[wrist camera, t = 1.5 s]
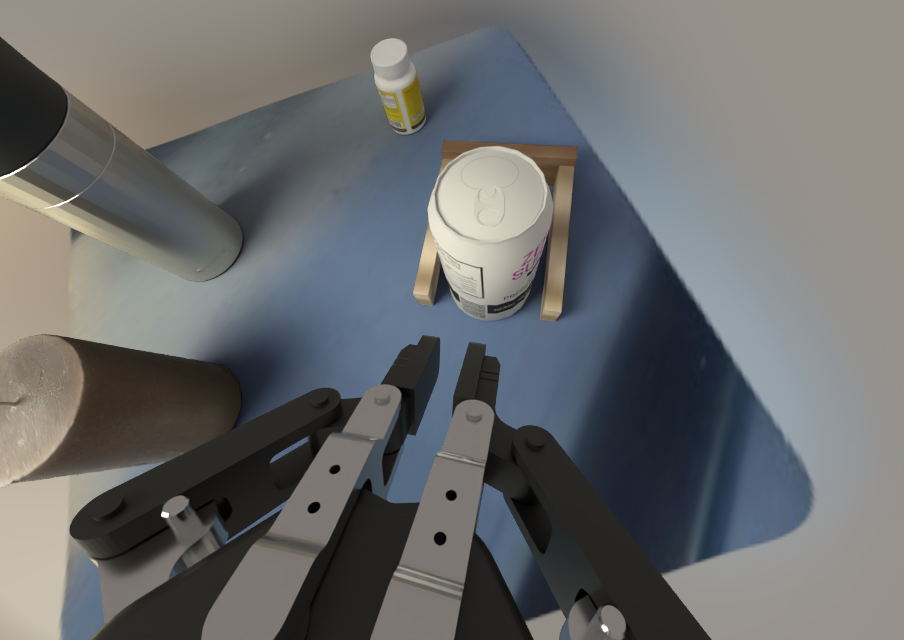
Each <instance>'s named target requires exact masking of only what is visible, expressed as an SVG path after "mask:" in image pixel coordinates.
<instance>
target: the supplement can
mask: <svg viewBox="0 0 904 640" xmlns="http://www.w3.org/2000/svg"><path fill="white" fill-rule="evenodd" d="M553 207H554V204H553V200H552V196H551V193H550V189H549V186H548V185H547V183H546V181H545V177H544V174H543V172H542V171H541V170H540V168H539V167H538V166H537V165H536V163H535V162H534V161H533V160H532V159H531V158H529V157H527V156H526V155H524V154H523V153H521V152H519V151H518V150H514V149H510V148H505V147H501V146H491V147H479V148H476V149H473V150H470V151H467V152H465V153H462V154H461V155H459V156H458V157H457V158H455V159H454V160H452V161H451V162H450V163H448V164H447V165H446V167H445V168H444V170H443V171H442V172H441V174H440V175H439V176H438V178H437V181H436V185H435V188H434V189H433V191H432V195H431V199H430V202H429V206H428V217H429V225H430V229H431V233H432V236H433V239H434V242H435V245H436V248H437V251H438V254H439V257H440V260H441V264H442V267H443V270H444V273H445V276H446V279H447V282H448V285H449V288H450V291H451V294H452V297H453V299H454V300H455V302H456V304H457V306H458V307H459V308H460V309H461V310H462V311H464V312H465V313H466V314H467V315H468V316H471V317H473V318H476V319H479V320H482V321H497V320H500V319H504V318H507V317H510V316H511V315H513V314H514V313H515V312H516V311H518V310H519V309H520V308H521V307H522V306H523V304H524V302H525V301H526V299H527V298H528V296H529V293H530V290H531V286H532V283H533V280H534V277H535V273H536V270H537V267H538V264H539V261H540V257H541V254H542V251H543V248H544V245H545V241H546V238H547V235H548V232H549V228H550V225H551V220H552V214H553Z"/></svg>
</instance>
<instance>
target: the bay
mask: <svg viewBox="0 0 904 640" xmlns="http://www.w3.org/2000/svg"><path fill="white" fill-rule="evenodd" d="M491 146H501V147H505V148H510V149H514V150H518V151H519V152H521V153H523V154H524V155H526V156H527V157H529V158H531V159H532V160H533V161H534V162H535V163H536V165H537V166H538V167H539V168H540V170H541V171H542V172H543V174H544V177H545V181H546V183H547V185H554V191H553V204H554V207H553V214H552V220H551V225H550V228H549V238H548V247H547V257H546V266H545V275H544V285H543V294H542V304H541V313H540V320H547V321H556V320H557V318H558V317H559V315H560V314H561V312H562V300H563V289H564V278H565V266H566V255H567V244H568V233H569V221H570V210H571V199H572V188H573V176H574V166H575V163H576V160H577V151H578V147H569V146H549V145H528V144H507V143H487V142H466V141H446V140H444V141H443V146H442V150H441V153H442V163H441V168H440V173H439V175H440V174H441V172H442V171H443V170H444V168H445V167H446V165H447V164H448V163H450V162H451V161H452V160H454V159H455V158H457V157H458V156H459V155H461V154H462V153H465V152H467V151H470V150H473V149H476V148H479V147H491ZM440 269H441V260H440V257H439V254H438V251H437V248H436V245H435V242H434V239H433V236H432V233H431V229H430V225H429V223H428V228H427V232H426V237H425V241H424V246H423V251H422V255H421V260H420V264H419V269H418V274H417V278H416V283H415V287H414V292H413V294H414V296H415V297H416V299H417V301H418V302H419V304H425V305H432V306H433V304H434V299H435V294H436V289H437V284H438V279H439V274H440Z"/></svg>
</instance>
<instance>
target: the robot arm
mask: <svg viewBox="0 0 904 640" xmlns="http://www.w3.org/2000/svg"><path fill="white" fill-rule="evenodd" d="M0 196H2V197H4V198H6V199H9V200H10V201H13V202H15V203H17V204H19V205H22V206H25V207H26V208H29V209H31V210H33V211H35V212H38V213H40V214H42V215H44V216H46V217H49V218H51V219H53V220H55V221H58V222H60V223H62V224H64V225H66V226H69V227H71V228H73V229H75V230H78V231H80V232H82V233H84V234H86V235H89V236H91V237H93V238H95V239H98V240H100V241H102V242H104V243H106V244H109V245H111V246H113V247H115V248H118V249H120V250H122V251H124V252H126V253H129V254H131V255H133V256H135V257H138V258H140V259H142V260H144V261H146V262H149V263H151V264H153V265H155V266H157V267H159V268H162V269H164V270H166V271H168V272H171V273H173V274H175V275H177V276H180V277H182V278H184V279H187V280H189V281H205V280H209V279H212V278H214V277H216V276H218V275H220V274H221V273H222V272H224V271H225V270H226V269H227V268H228V267H229V266H230V265H231V264H232V263H233V262H234V260H235V259H236V258H237V256H238V254H239V252H240V249H241V246H242V238H243V235H242V230H241V228H240V226H239V224H238V223H237V221H236V220H235V219H233V218H232V217H231V216H230V215H228V214H227V213H226V212H224V211H223V210H222V209H220V208H219V207H218V206H217V205H215V204H214V203H213V202H211V201H210V200H209V199H208V198H206V197H205V196H204V195H202V194H201V193H200V192H199V191H197V190H196V189H195V188H193V187H192V186H191V185H189V184H188V183H187V182H186V181H184V180H183V179H182V178H180V177H179V176H178V175H176V174H175V173H174V172H173V171H171V170H170V169H169V168H167V167H166V166H165V165H163V164H162V163H161V162H160V161H158V160H157V159H156V158H154V157H153V156H152V155H150V154H149V153H148V152H147V151H145V150H144V149H143V148H141V147H140V146H139V145H137V144H136V143H135V142H134V141H132V140H131V139H130V138H128V137H127V136H126V135H124V134H123V133H122V132H121V131H119V130H118V129H117V128H115V127H114V126H113V125H111V124H110V123H109V122H108V121H106V120H105V119H103V118H102V117H101V116H99V115H98V114H97V113H96V112H94V111H93V110H92V109H90V108H89V107H88V106H86V105H85V104H84V103H83V102H81V101H80V100H79V99H77V98H76V97H75V96H73V95H72V94H71V93H69V92H68V91H67V90H66V89H64V88H63V87H62V86H60V85H59V84H58V83H57V82H55V81H54V80H53V79H52V78H50V77H49V76H47V75H46V74H45V73H44V72H42V71H41V70H40V69H38V68H37V67H36V66H35V65H34V64H32V63H31V62H30V61H28V60H27V59H26V58H25V57H23V55H21V54H20V53H19V52H18V51H17V50H15V49H14V48H13V47H12V46H11V45H9V44H8V43H7V42H6V41H5V40H3V39H2V38H1V37H0ZM485 351H486V344H481V343H474V342H469V345H468V348H467V352H466V355H465V359H464V362H463V365H462V369H461V372H460V376H459V379H458V382H457V386H456V389H455V393H454V396H453V413H452V420H451V423H450V426H449V429H448V432H447V436H446V439H445V442H444V445H443V448H442V451H441V452H438V453H437V455H436V457H435V460H434V463H433V466H432V469H431V472H430V475H429V478H428V481H427V484H426V486H425V489H424V492H423V495H422V498H421V501H420V503H390V502H388V501H386V500H387V495H388V492H389V489H390V486H391V483H392V481H393V478H394V475H395V472H396V469H397V467H398V464H399V461H400V458H401V456H402V453H403V449H404V441H405V439H406V436H407V434H410V435H416V433H417V430H418V427H419V425H420V422H421V420H422V417H423V414H424V412H425V409H426V407H427V404H428V401H429V399H430V396H431V394H432V391H433V388H434V386H435V383H436V381H437V377H438V373H439V363H440V338H439V337H433V336H426V335H423V336H422V337H421V339H420V341H419V343H418V345H411V344H410V345H408V346H407V347H405V348H404V349H402V350H401V352H400V353H399V355H398V357H397V359H396V360H395V361H394V363H393V365H392V366H391V368H390V370H389V371H388V373H387V375H386V376H385V378H384V380H383V381H382V383H381V384H380V385H377V386H374V387H372V388H370V389H369V390H367V391H366V392H365V394H364V395H363V397H361V398H352V399H341V397H340V394H339V392H338V391H336V390H335V389H332V388H319V389H316V390H313V391H311V392H309V393H307V394H304V395H302V396H300V397H298V398H296V399H294V400H292V401H290V402H288V403H286V404H284V405H282V406H280V407H278V408H276V409H274V410H272V411H270V412H268V413H266V414H264V415H262V416H260V417H257V418H255V419H253V420H251V421H249V422H247V423H245V424H243V425H241V426H239V427H237V428H235V429H233V430H231V431H229V432H227V433H225V434H223V435H221V436H219V437H217V438H215V439H213V440H210V441H208V442H206V443H204V444H202V445H200V446H198V447H196V448H194V449H192V450H190V451H188V452H186V453H184V454H182V455H180V456H178V457H176V458H174V459H172V460H170V461H168V462H166V463H164V464H161V465H159V466H157V467H155V468H153V469H151V470H149V471H147V472H145V473H143V474H141V475H139V476H137V477H135V478H133V479H131V480H129V481H127V482H125V483H123V484H121V485H119V486H117V487H114V488H112V489H110V490H108V491H106V492H104V493H103V494H101V495H99V496H98V497H96V498H94V499H93V500H92V501H90V502H89V503H88V504H87V505H85V506H84V507H83V508H82V509H81V510H80V511H79V512H78V514H77V515H76V516H75V517H74V519H73V521H72V523H71V525H70V534H71V536H72V537H73V538H74V539H75V540H76V541H77V542H78V543H79V544H80V545H81V546H82V547H83V549H84V550H85V551H86V554H87V556H88V557H89V558H90V559H91V560H92V561H93V562H94V563H95V564H96V565H97V566H98V570H99V579H100V587H101V596H102V605H103V613H104V622H105V625H104V626H103V627H102V628H101V629H100V630H99V631H98V632H97V633H96V634H95V635H94V636H93V637H92V638H91V639H90V640H534V639H533V637H532V635H531V633H530V631H529V629H528V627H527V625H526V623H525V621H524V619H523V617H522V615H521V613H520V611H519V609H518V607H517V605H516V603H515V601H514V599H513V597H512V595H511V593H510V591H509V589H508V587H507V585H506V583H505V580H504V578H503V576H502V574H501V572H500V570H499V568H498V566H497V564H496V562H495V560H494V558H493V556H492V554H491V553H490V551H489V549H488V548H487V546H486V545H485V543H484V542H483V541H482V540H481V538H480V537H479V536H478V535H477V534H476V530H477V523H478V517H479V511H480V505H481V499H482V494H483V488H484V482H485V483H486V484H488V485H490V486H492V487H493V488H495V489H497V490H499V491H501V492H502V493H503V496H504V499H505V501H506V503H507V505H508V507H509V509H510V511H511V513H512V515H513V517H514V519H515V521H516V523H517V525H518V527H519V529H520V531H521V532H522V534H523V536H524V538H525V540H526V542H527V544H528V546H529V548H530V550H531V552H532V554H533V556H534V558H535V560H536V562H537V563H538V565H539V567H540V569H541V571H542V573H543V575H544V577H545V579H546V581H547V583H548V585H549V587H550V589H551V591H552V593H553V595H554V596H555V598H556V600H557V602H558V604H559V606H560V608H561V610H562V612H563V614H564V616H565V618H566V621H565V623H564V625H563V627H562V629H561V632H560V637H559V640H711V638H710V637H709V636H708V635H707V633H706V632H705V631H704V629H703V628H702V627H701V626H700V624H699V623H698V622H697V621H696V619H695V618H694V617H693V615H692V614H691V613H690V611H689V610H688V609H687V608H686V606H685V605H684V604H683V603H682V601H681V600H680V599H679V597H678V596H677V595H676V594H675V592H674V591H673V590H672V588H671V587H670V586H669V585H668V583H667V582H666V581H665V580H664V578H663V577H662V576H661V574H660V573H659V572H658V570H657V569H656V568H655V567H654V565H653V564H652V563H651V561H650V560H649V559H648V558H647V556H646V555H645V554H644V553H643V551H642V550H641V549H640V547H639V546H638V545H637V544H636V542H635V541H634V540H633V538H632V537H631V536H630V535H629V533H628V532H627V531H626V529H625V528H624V527H623V526H622V524H621V523H620V522H619V520H618V519H617V518H616V517H615V515H614V514H613V513H612V512H611V510H610V509H609V508H608V506H607V505H606V504H605V503H604V501H603V500H602V499H601V497H600V496H599V495H598V494H597V492H596V491H595V490H594V488H593V487H592V486H591V485H590V483H589V482H588V481H587V479H586V478H585V477H584V476H583V474H582V473H581V472H580V470H579V469H578V468H577V467H576V465H575V464H574V463H573V462H572V460H571V459H570V458H569V456H568V455H567V454H566V453H565V451H564V450H563V449H562V447H561V446H560V445H559V444H558V442H557V441H556V440H555V438H554V437H553V436H552V435H551V434H550V433H549V432H548V431H546V430H545V429H543V428H540V427H538V426H532V425H527V426H523V427H520V428H518V429H517V430H516V429H514V428H512V427H510V426H508V425H506V424H505V423H503V422H502V421H501V420H500V419H499V418H498V416H497V414H496V411H495V404H496V396H497V388H498V380H499V372H500V364H499V362H498V360H497V358H496V357H490V356H485ZM305 437H307V438H308V442H306V443H305V444H303V445H301V446H299V447H298V448H296V449H294V450H293V451H291V452H289V453H288V454H286V455H284V456H282V457H281V458H279V459H277V460H276V461H274V462H272V463H270V461H271V459H272V458H273V457H274V456H275V455H276V454H278V453H279V452H281V451H283V450H284V449H286V448H288V447H290V446H291V445H293V444H295V443H296V442H298V441H300V440H302V439H303V438H305ZM269 463H270V464H269ZM288 499H289V500H288ZM286 500H288V502H287V503H286V505H285V506H284V508H283V509H282V510H280V511H279V512H277V513H275V514H274V515H272V516H270V517H269V518H267V519H266V520H264V521H262V522H261V523H259V524H258V525H256V526H254V527H253V528H251V529H250V530H248V531H246V532H245V533H243V534H242V535H240V536H238V537H237V538H235V539H234V540H232V541H230V542H229V543H227V544H226V545H225V543H226V541H228V540H229V539H230V538H232V537H233V536H235V535H236V534H238V533H239V532H241V531H242V530H244V529H245V528H247V527H248V526H250V525H251V524H253V523H254V522H255V521H257V520H258V519H260V518H261V517H263V516H264V515H266V514H267V513H269V512H270V511H272V510H273V509H275V508H276V507H278V506H279V505H280V504H282V503H283V502H285V501H286Z"/></svg>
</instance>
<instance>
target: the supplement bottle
mask: <svg viewBox="0 0 904 640" xmlns="http://www.w3.org/2000/svg"><path fill="white" fill-rule="evenodd" d="M371 61H372V64H373V68H374V70H375V75H374V79H375V83H376V86H377V89H378V92H379V95H380V98H381V100H382V103H383V106H384V109H385V111H386V114H387V117H388V120H389V123H390V125H391V127H392V129H393V130H394V131H395V132H397V133H399V134H403V135H408V134H412V133H415V132H417V131H418V130H420V129H421V128H422V127H423V125H424V124H425V121H426V113H425V108H424V104H423V99H422V95H421V90H420V86H419V81H418V77H417V72H416V69H415V66H414V64H413V63H412V62H411V61H410V57H409V53H408V50H407V46H406V45H405V43H404V42H403V41H401V40H399V39H394V38H391V39H386V40H383V41H381V42H379V43H378V44H377V45H375V46H374V48H373V49H372V51H371Z"/></svg>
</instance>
